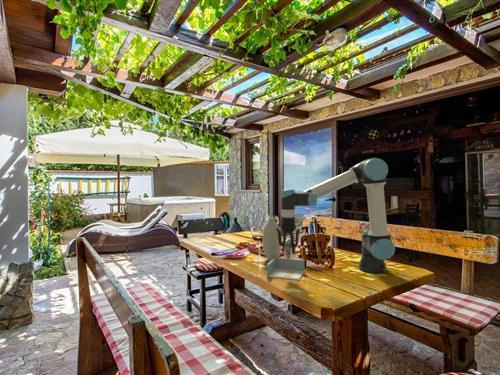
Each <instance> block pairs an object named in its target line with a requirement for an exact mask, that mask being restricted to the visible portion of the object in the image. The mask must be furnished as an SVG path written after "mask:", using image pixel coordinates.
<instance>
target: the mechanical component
mask: <svg viewBox="0 0 500 375" xmlns="http://www.w3.org/2000/svg"><path fill="white" fill-rule="evenodd" d="M291 247H292V245H291V239H289V240H286V244H285V245H284V249H285V250H286V252H287V260H288V259H289V260H290V259H291V251H290V248H291Z"/></svg>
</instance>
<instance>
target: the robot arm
mask: <svg viewBox="0 0 500 375" xmlns="http://www.w3.org/2000/svg"><path fill="white" fill-rule="evenodd" d="M348 169H349V170H347V171H345V172H343V173H341V174H339V175H335V176H334V177H332V178H329V179H328V180H325V181H323V182H321V183H319V184H316V185H314V186H313V187H312V186H311V188H308V189H305V190H302V191H300V192H296V190H295V189H293V188H285V189H282V190H281V193H280V194H281V196H280V197H281V198H280V199H281V200H280V201H281V202H280V203H281V204H280V206H281V214H280V215H281V225H280V226H279V228H277V232H278V239H279V245H281V251H282V253H283V258H284V259H286V258H287V252H286V250H285V249H284V245H285V244H286V242H287V237H288V234H289V236H290V237H289V239H290V240H291V245H292V247H291V248H290V251H291V252H290V259H294V254H295V252H296V250H295V248H296V247H298V245H299V237H300V232H301V228H298V227H297V226H296V217H295V216H296V207H315V206H317V204H318V199H320V198H323V197H325V196H327V195H329V194H331V193H333V192H337V191H338V190H340V189H343V188H345V187H347V186H349V185H353V184H354V183H356V184H358V183H360V182H362V184H363V186H364V187H365V188H366V198H367V209H368V219H369V220H368V221H369V230H363V231H362V232H361V256H360V260H359V262H358V269H359V270H361V271H363V272H365V273H369V274H370V273H371V274H383V273H386V272H387V268H388V266H387V264H386V262H385V261H386V260H389V259H391V257H393V256H394V254H395V252H396V246H395V244H394V242H393V241H392V234H391V232H390V231H389V230H388V222H387V212H386V211H387V210H386V202H385V198H386V197H385V189H384V187H385V185H386V183H387V175H388V172H389V167H388V164H387V162H385V161H384V160H383V159H380V158H377V157H372V158H367V159H364V160H363V161H361V162H359V163H357V164H355V165H353V166H352V167H350V168H348ZM294 231H295V239H294ZM282 232H283V236H282Z"/></svg>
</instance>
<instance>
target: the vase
mask: <svg viewBox="0 0 500 375" xmlns="http://www.w3.org/2000/svg"><path fill="white" fill-rule="evenodd" d="M279 227H280V226H279V225H278V222H276V219H275V217H269V218H268V221H267V222H266V225H265V226H264V229H263V233H262V249H263V252H264V255H265V257H266V259H267V261H268V262H270V261H271V260H272V259H273V258H275V257H276V258H280V254H281V251H282V246H281V245H279V239H278V232H277V228H279Z"/></svg>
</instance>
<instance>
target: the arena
mask: <svg viewBox="0 0 500 375" xmlns="http://www.w3.org/2000/svg"><path fill="white" fill-rule="evenodd" d="M304 273H305V259H296V258H293V259H291V258H290V260H289V258H288V260H287V258H286V259H284V257H278V258H276V257H275V258H273V259H272V260H271V261H268V263H267V264H266V277H267V278H273V279H274V278H276V279H282V280H291V281H292V280H293V281H300V279H301V278H302V276H303V275H304Z"/></svg>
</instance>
